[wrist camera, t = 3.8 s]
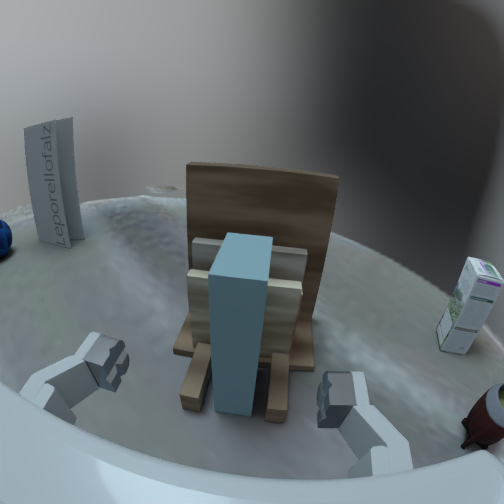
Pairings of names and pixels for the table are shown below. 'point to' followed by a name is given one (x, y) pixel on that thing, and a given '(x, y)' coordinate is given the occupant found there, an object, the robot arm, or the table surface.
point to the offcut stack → (277, 299)
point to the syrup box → (469, 306)
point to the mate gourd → (486, 419)
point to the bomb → (5, 238)
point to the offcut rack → (284, 234)
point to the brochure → (53, 181)
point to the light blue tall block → (237, 318)
